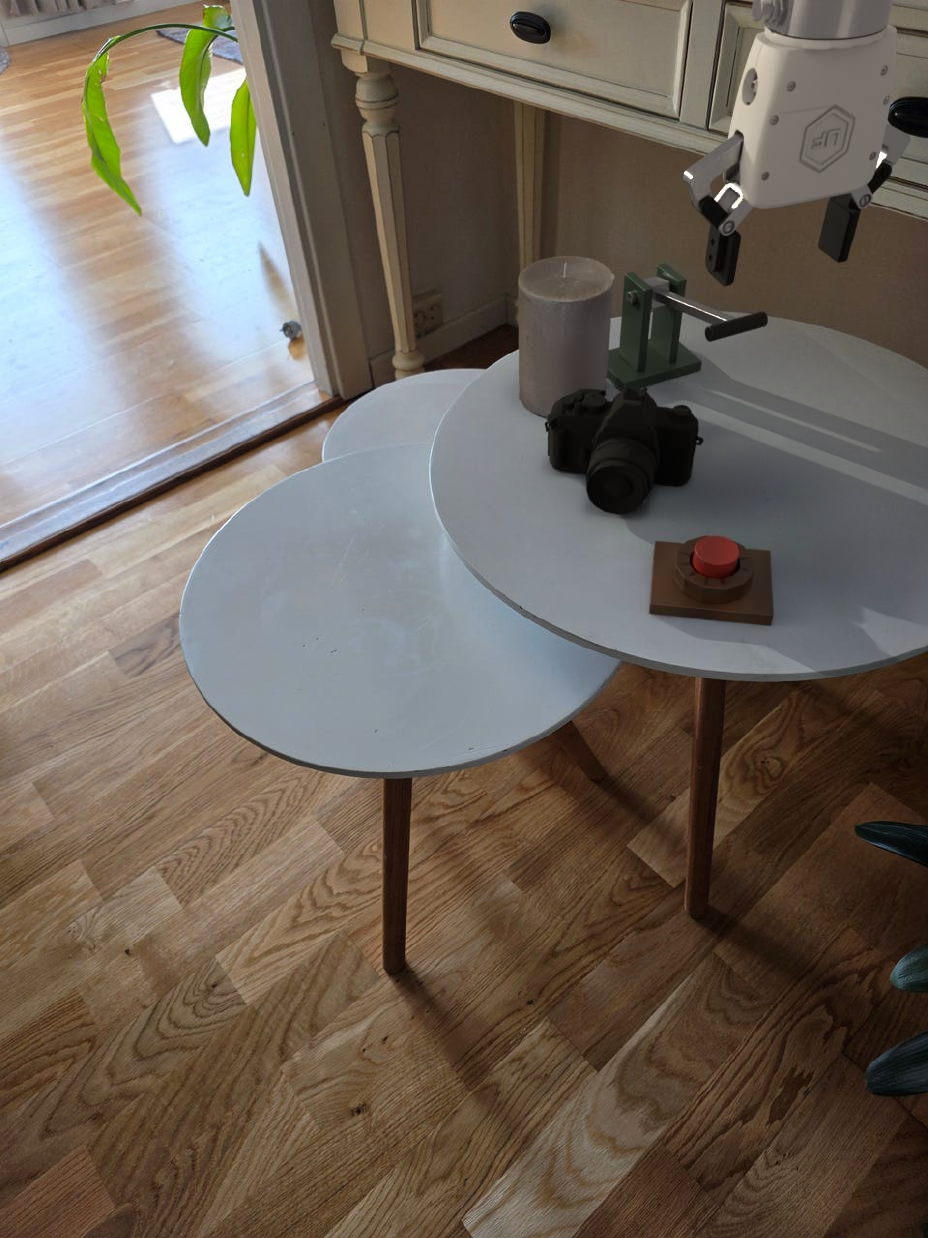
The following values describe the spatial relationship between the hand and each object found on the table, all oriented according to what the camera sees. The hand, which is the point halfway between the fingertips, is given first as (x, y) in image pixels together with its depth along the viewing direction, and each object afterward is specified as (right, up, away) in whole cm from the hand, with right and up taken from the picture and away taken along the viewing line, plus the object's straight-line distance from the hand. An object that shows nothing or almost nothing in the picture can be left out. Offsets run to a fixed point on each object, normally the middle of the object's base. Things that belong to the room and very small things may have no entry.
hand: (776, 266), depth 68 cm
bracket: (-4, +1, +32) cm, 32 cm away
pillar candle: (-13, -3, +29) cm, 32 cm away
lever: (-1, +3, +20) cm, 21 cm away
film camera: (-9, -15, +18) cm, 25 cm away
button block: (-3, -25, +8) cm, 26 cm away
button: (-3, -23, +6) cm, 24 cm away
